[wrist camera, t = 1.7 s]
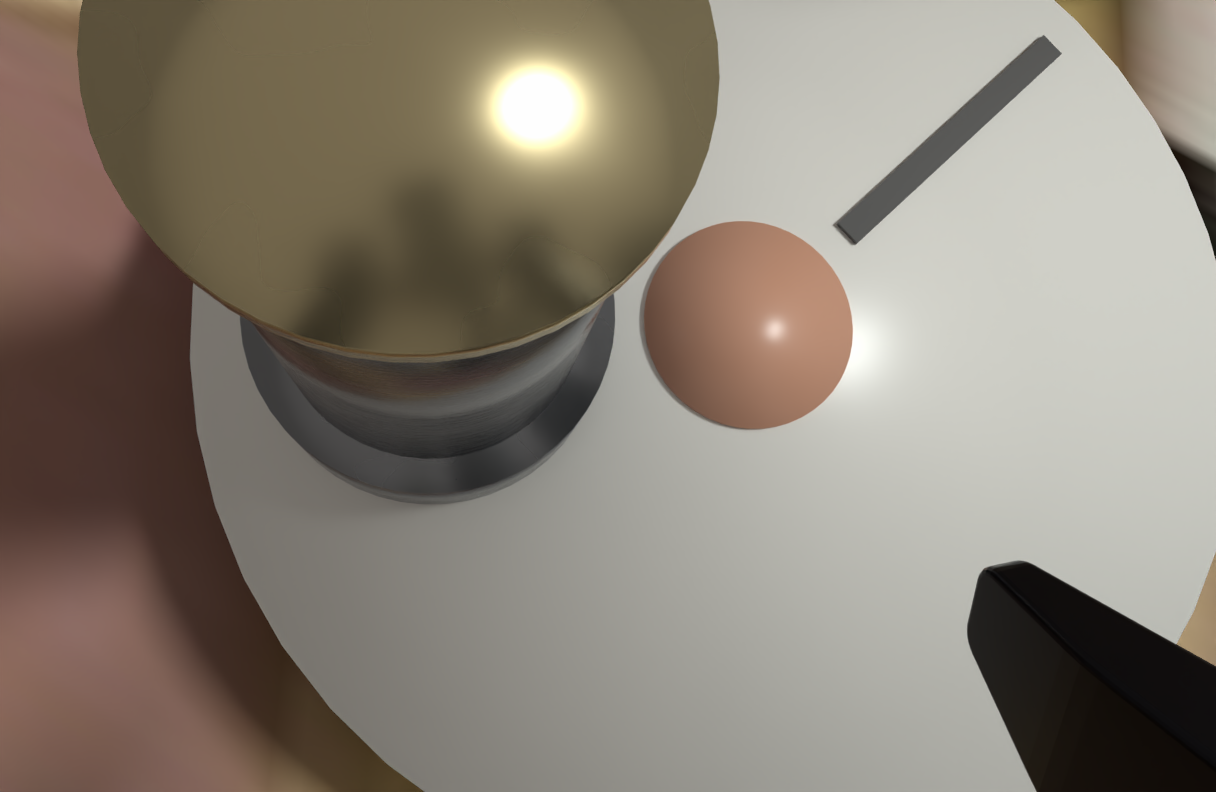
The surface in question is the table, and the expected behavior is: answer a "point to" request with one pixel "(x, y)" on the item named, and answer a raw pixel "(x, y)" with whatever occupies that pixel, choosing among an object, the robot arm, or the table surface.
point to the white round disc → (791, 438)
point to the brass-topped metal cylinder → (408, 204)
